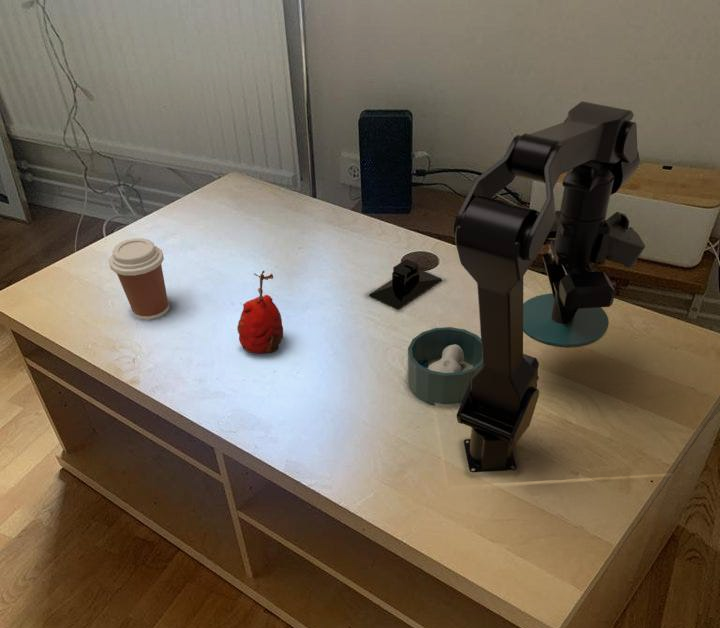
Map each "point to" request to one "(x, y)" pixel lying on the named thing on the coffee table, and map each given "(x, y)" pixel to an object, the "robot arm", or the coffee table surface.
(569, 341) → the tin lid
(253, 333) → the red fruit with stem
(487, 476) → the coffee table surface
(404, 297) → the build plate
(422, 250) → the coffee table surface
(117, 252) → the coffee cup
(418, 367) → the tin
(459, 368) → the pale two-lobed sculpture
